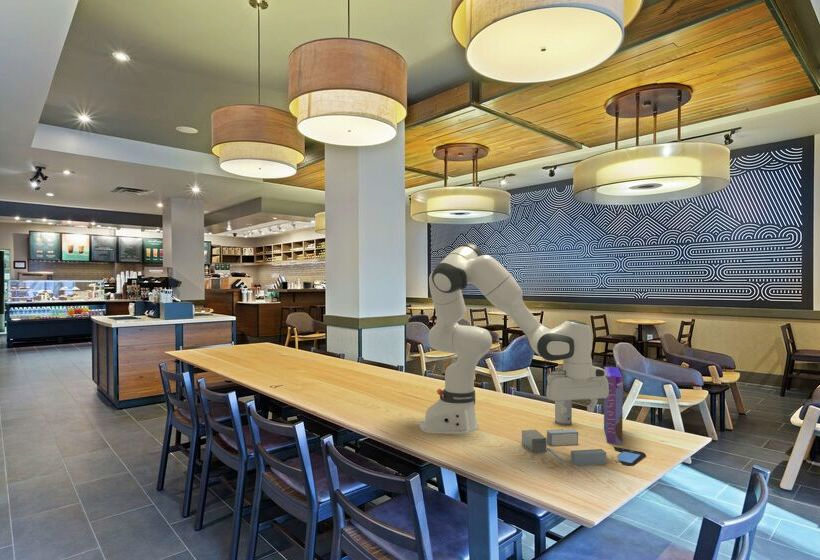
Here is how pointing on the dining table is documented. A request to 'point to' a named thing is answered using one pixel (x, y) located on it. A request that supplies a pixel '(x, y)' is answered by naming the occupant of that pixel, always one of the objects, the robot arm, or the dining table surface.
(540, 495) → the dining table surface
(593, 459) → the vise
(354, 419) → the dining table surface
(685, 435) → the dining table surface
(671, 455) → the dining table surface
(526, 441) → the steel block
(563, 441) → the block
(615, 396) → the cereal box
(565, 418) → the travel mug
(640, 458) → the game console
